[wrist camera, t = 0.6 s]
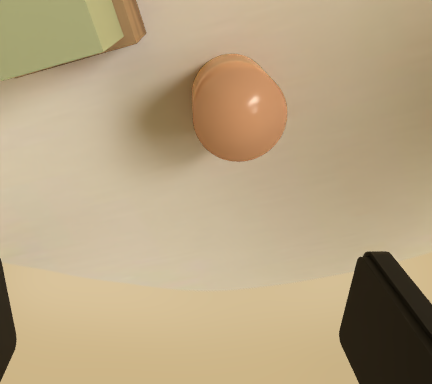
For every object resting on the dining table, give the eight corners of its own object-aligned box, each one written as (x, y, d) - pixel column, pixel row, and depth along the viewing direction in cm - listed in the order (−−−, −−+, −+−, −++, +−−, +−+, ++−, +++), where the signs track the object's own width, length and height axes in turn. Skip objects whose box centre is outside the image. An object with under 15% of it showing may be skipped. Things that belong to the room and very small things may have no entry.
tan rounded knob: (260, 44, 28) (277, 57, 23) (275, 120, 31) (294, 148, 25) (182, 66, 29) (181, 83, 23) (203, 139, 31) (207, 171, 26)
